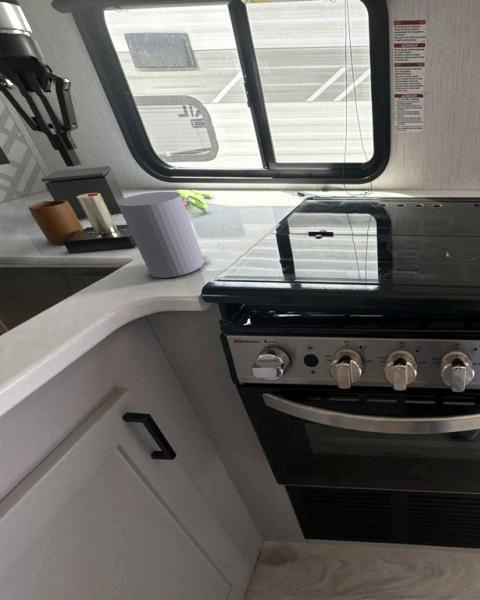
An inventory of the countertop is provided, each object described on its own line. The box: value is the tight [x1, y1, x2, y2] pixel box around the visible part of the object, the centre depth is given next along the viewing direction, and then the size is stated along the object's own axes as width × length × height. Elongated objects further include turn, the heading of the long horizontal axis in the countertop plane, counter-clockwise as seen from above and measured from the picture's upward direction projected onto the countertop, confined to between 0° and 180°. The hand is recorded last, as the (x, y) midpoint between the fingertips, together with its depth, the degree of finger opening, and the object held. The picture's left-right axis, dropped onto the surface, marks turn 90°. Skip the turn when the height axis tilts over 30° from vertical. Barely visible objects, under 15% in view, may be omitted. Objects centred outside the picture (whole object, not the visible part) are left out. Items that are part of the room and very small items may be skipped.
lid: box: [40, 166, 112, 183], centre depth 103 cm, size 18×14×1 cm
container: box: [117, 191, 205, 279], centre depth 68 cm, size 10×10×15 cm
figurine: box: [172, 189, 213, 214], centre depth 109 cm, size 18×27×6 cm
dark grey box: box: [44, 168, 125, 220], centre depth 107 cm, size 17×14×11 cm
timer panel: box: [62, 224, 137, 254], centre depth 84 cm, size 14×10×3 cm
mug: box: [28, 200, 84, 245], centre depth 86 cm, size 12×8×9 cm, turn 49°
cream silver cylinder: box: [77, 193, 118, 235], centre depth 80 cm, size 4×4×9 cm
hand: (74, 165), depth 75 cm, fingers closed
